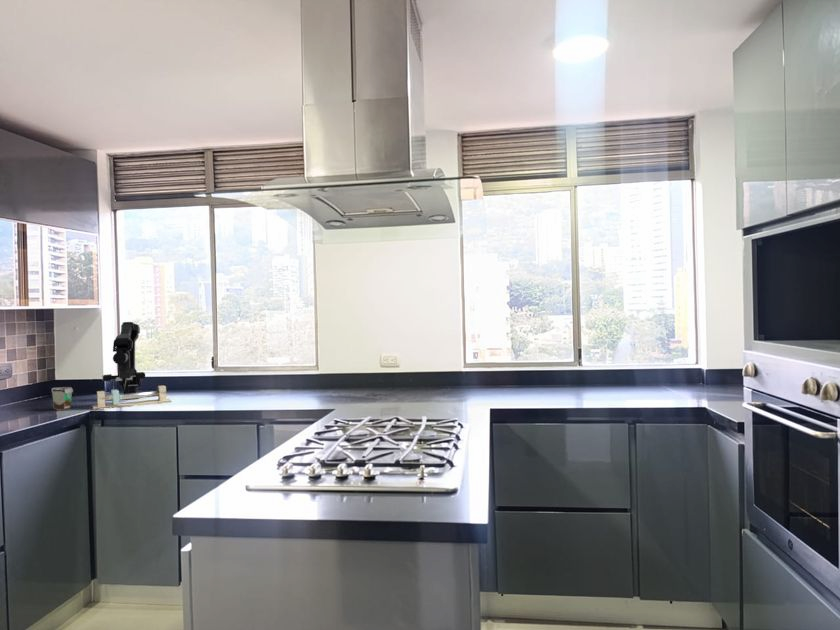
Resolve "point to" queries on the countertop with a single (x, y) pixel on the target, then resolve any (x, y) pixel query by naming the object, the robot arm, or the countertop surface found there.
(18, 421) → the countertop surface
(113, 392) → the collar
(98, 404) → the beige cradle stand
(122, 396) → the pipe
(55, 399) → the food container
